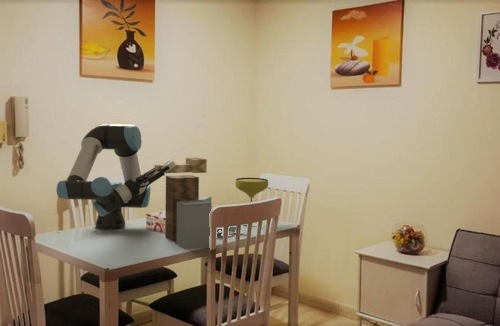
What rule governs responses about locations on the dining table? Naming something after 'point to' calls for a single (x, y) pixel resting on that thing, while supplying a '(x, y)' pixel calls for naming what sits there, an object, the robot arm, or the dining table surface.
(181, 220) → the grey rectangular block
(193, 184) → the tall walnut stand
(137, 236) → the dining table surface
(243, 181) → the cocktail glass
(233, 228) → the l-shaped corner panel
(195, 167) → the ash mallet
